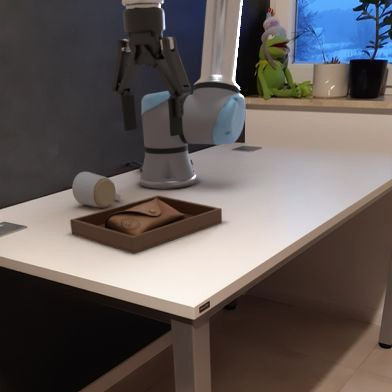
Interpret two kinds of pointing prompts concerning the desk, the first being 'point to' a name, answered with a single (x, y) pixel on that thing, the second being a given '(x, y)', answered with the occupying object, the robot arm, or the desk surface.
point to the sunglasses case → (143, 218)
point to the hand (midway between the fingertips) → (152, 132)
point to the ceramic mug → (94, 190)
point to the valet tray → (192, 222)
